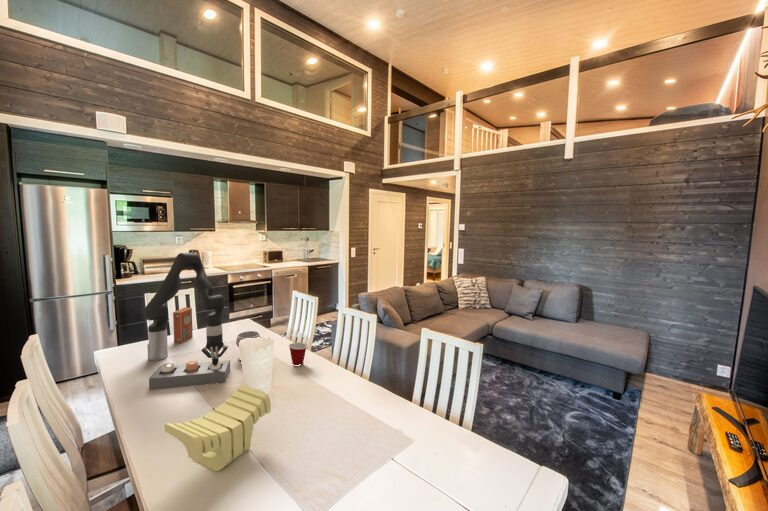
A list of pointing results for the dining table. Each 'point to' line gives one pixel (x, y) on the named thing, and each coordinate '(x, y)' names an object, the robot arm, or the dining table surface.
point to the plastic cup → (297, 352)
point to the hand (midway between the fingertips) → (215, 364)
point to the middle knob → (192, 366)
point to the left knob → (168, 368)
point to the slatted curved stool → (223, 428)
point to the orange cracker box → (182, 325)
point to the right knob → (215, 366)
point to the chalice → (246, 335)
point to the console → (189, 376)
